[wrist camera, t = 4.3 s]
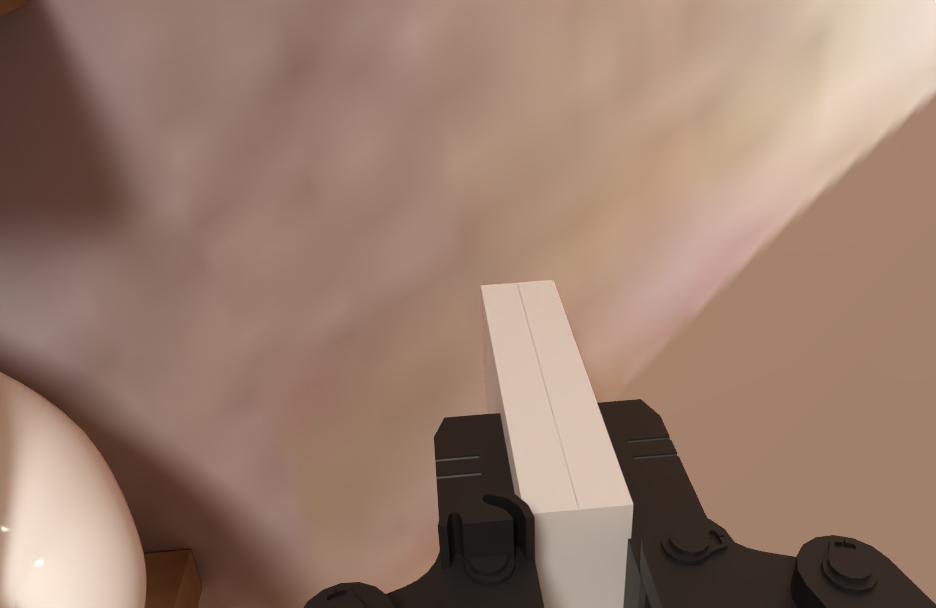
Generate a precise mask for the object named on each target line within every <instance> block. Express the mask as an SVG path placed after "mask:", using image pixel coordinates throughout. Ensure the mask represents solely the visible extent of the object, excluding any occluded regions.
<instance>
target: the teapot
mask: <svg viewBox="0 0 936 608" xmlns="http://www.w3.org/2000/svg"><path fill="white" fill-rule="evenodd" d="M146 587H147V578H146V565H145V558H144V553H143V549H142V545H141V541H140V538H139V535H138V531H137V528H136V525H135V522H134V520H133V517H132V515H131V512H130V510H129V507H128V504H127V502H126V499H125V497H124V495H123V493H122V491H121V489H120V487H119V485H118V483H117V480H116V478H115V476H114V475H113V473H112V471H111V470H110V468H109V466H108V465H107V463H106V461H105V459H104V458H103V456H102V454H101V453H100V452H99V450H98V449H97V448H96V446H95V445H94V444H93V442H92V441H91V440H90V438H89V437H88V436H87V434H86V433H85V432H84V431H83V430H82V429H81V428H80V427H79V426H78V425H77V424H76V423H75V422H74V421H73V420H72V419H71V418H69V417H68V416H67V415H66V414H65V413H64V412H63V411H61V410H60V409H59V408H58V407H56V406H55V405H54V404H52V403H51V402H50V401H48V400H47V399H46V398H44V397H43V396H41V395H40V394H38V393H37V392H35V391H33V390H32V389H30V388H29V387H27V386H26V385H24V384H22V383H21V382H19V381H17V380H15V379H13V378H11V377H9V376H7V375H6V374H4V373H2V372H0V608H145V602H146Z"/></svg>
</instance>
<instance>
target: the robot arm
mask: <svg viewBox="0 0 936 608" xmlns="http://www.w3.org/2000/svg"><path fill="white" fill-rule="evenodd" d="M481 300H482V322H483V345H484V367H485V390H486V399H487V405H488V411H489V414H483V415H471V416H460V417H448V418H444V420H443V421H442V423H441V425H440V427H439V429H438V431H437V433H436V434H435V436H434V445H435V461H436V476H437V492H438V508H439V524H438V533H439V544H440V552H439V555H438V557H437V559H436V562H435V563H434V565H433V566H432V567H431V568H430V570H429V571H428V572H427V573H426V574H425V575H423V576H422V577H421V578H420V579H418V580H417V581H415V582H413V583H411V584H409V585H407V586H405V587H403V588H400V589H398V590H395V591H393V592H390V593H387V594H385V593H383V592H382V591H381V590H379V589H378V588H377V587H375V586H371V585H368V584H364V583H360V582H354V583H340V584H338V585H335V586H332V587H329V588H327V589H324V590H322V591H321V592H320V593H318V594H317V595H316V596H314V597H313V598H312V599H310V600H309V601H308V602H307V603H306V605H305V607H304V608H936V604H935V603H934V602H932V601H931V599H929V598H928V597H927V596H926V595H925V594H924V593H923V592H922V591H921V590H920V589H919V588H918V587H917V586H916V585H915V584H914V583H913V582H912V581H911V580H910V579H909V578H908V577H907V576H906V575H905V574H904V573H903V572H902V571H901V570H900V569H899V568H898V567H897V566H896V565H895V564H894V563H893V562H892V561H891V560H890V559H889V558H887V557H886V556H884V555H883V554H882V553H880V552H879V551H878V550H876V549H875V548H874V547H872V546H870V545H868V544H865V543H863V542H861V541H858V540H856V539H853V538H848V537H841V536H835V535H831V536H823V537H816V538H814V539H812V540H810V541H809V542H807V543H805V544H803V546H802V547H801V549H800V551H799V553H798V555H797V557H793V556H786V555H780V554H773V553H768V552H762V551H758V550H754V549H749V548H746V547H744V546H742V545H739V544H737V543H735V542H734V541H733V540H732V539H731V537H730V536H729V534H728V533H727V532H726V530H725V529H724V528H722V527H721V526H719V525H717V524H716V523H714V522H713V521H712V520H710V519H708V518H707V516H706V515H705V513H704V510H703V508H702V506H701V504H700V502H699V500H698V497H697V495H696V493H695V491H694V489H693V486H692V484H691V482H690V480H689V478H688V476H687V473H686V471H685V469H684V467H683V465H682V463H681V460H680V458H679V457H677V452H676V449H675V448H674V445H673V443H672V441H671V440H670V439H669V434H668V432H667V430H666V428H665V425H664V423H663V421H662V419H661V417H660V415H658V414H657V413H656V412H655V411H654V410H653V409H651V408H650V407H649V406H648V405H647V404H646V403H644V402H643V401H642V400H641V399H638V400H626V401H614V402H603V403H597V401H596V398H595V396H594V393H593V390H592V387H591V384H590V382H589V379H588V376H587V373H586V370H585V368H584V365H583V362H582V359H581V356H580V354H579V351H578V348H577V345H576V342H575V340H574V337H573V334H572V331H571V328H570V326H569V323H568V320H567V317H566V314H565V312H564V309H563V306H562V303H561V300H560V298H559V295H558V292H557V289H556V286H555V284H554V281H553V280H547V281H535V282H522V283H509V284H496V285H483V286H481Z"/></svg>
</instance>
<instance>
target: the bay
mask: <svg viewBox="0 0 936 608" xmlns="http://www.w3.org/2000/svg"><path fill="white" fill-rule="evenodd" d="M27 4H28V0H0V16H2V15H5V14H7V13H9V12H11V11H13V10H16V9H18V8H20V7H22V6H25V5H27ZM144 558H145V565H146V578H147V587H146V602H145V608H197V606H198V603H199V599H200V595H201V591H202V586H201V582H200V579H199V576H198V572H197V569H196V566H195V562H194V559H193V555H192V552H191V549H190V550H179V551H167V552H156V553H145V554H144Z"/></svg>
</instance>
